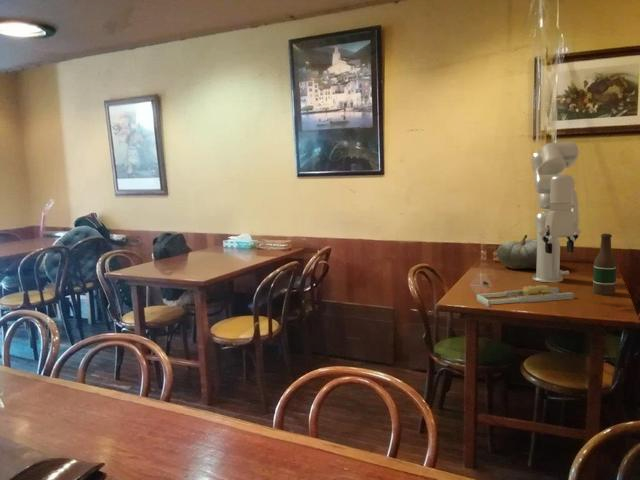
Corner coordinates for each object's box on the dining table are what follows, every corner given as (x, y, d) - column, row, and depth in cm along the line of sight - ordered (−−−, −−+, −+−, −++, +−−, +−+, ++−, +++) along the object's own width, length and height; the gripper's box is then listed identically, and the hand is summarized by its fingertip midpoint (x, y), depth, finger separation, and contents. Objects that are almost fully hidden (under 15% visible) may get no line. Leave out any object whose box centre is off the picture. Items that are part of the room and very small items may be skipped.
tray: (504, 298, 192) (504, 292, 192) (518, 304, 182) (518, 298, 182) (476, 300, 190) (476, 294, 190) (488, 307, 181) (488, 300, 180)
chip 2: (544, 294, 191) (545, 284, 191) (551, 297, 187) (551, 287, 187) (535, 295, 191) (535, 285, 190) (541, 297, 187) (541, 287, 186)
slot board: (554, 293, 196) (554, 286, 196) (574, 300, 185) (574, 293, 184) (504, 297, 193) (504, 290, 193) (520, 305, 181) (520, 298, 181)
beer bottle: (614, 296, 189) (617, 235, 185) (592, 294, 193) (594, 234, 190) (615, 292, 195) (618, 233, 192) (593, 290, 199) (595, 232, 196)
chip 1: (531, 295, 190) (532, 285, 190) (537, 298, 187) (538, 288, 186) (522, 296, 190) (522, 286, 189) (528, 299, 186) (528, 288, 185)
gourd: (561, 266, 237) (555, 231, 236) (512, 276, 236) (505, 242, 236) (538, 262, 262) (531, 230, 261) (493, 271, 261) (486, 240, 261)
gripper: (575, 206, 190) (573, 249, 193) (534, 208, 188) (533, 252, 190) (588, 207, 183) (586, 252, 185) (545, 209, 180) (544, 255, 183)
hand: (559, 252), depth 188 cm, fingers open, 8 cm apart
